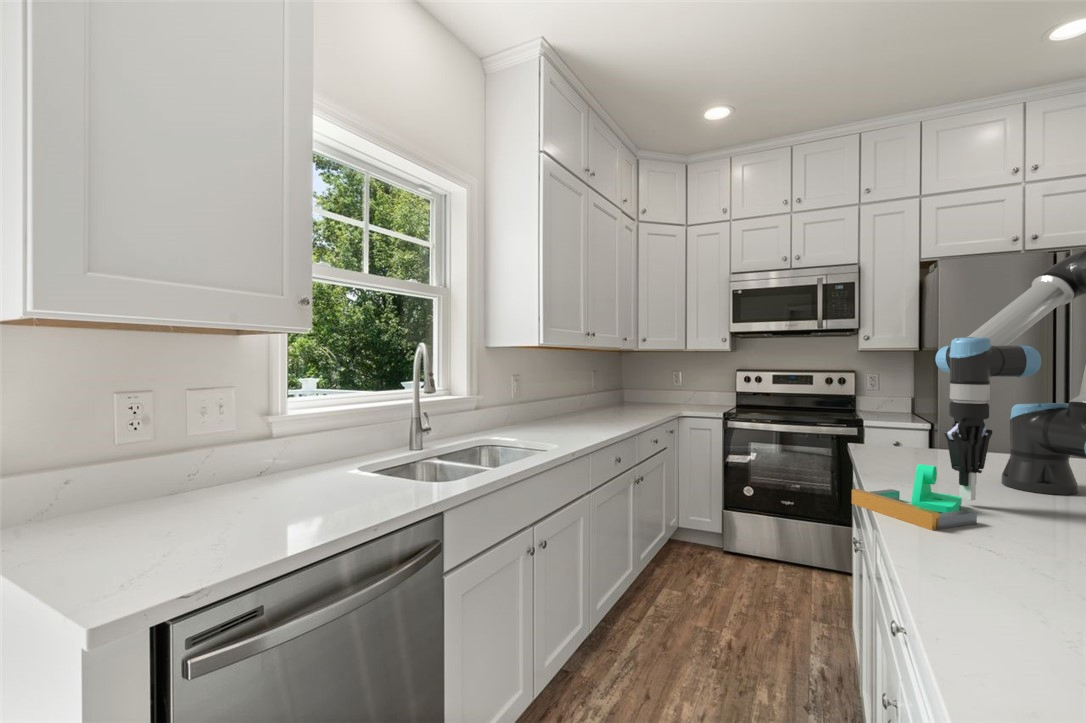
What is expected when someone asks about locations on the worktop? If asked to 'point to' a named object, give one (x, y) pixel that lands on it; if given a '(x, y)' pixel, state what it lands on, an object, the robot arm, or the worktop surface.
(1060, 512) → the worktop surface
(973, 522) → the dock
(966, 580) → the worktop surface
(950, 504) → the camera mount
